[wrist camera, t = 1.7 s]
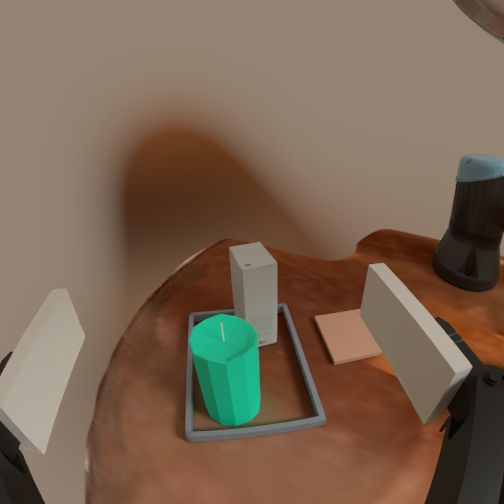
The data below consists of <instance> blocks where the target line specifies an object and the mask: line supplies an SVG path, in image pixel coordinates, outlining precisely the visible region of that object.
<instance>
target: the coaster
mask: <svg viewBox="0 0 504 504" xmlns="http://www.w3.org/2000/svg"><path fill="white" fill-rule="evenodd" d="M359 314H360V309H356V310H351V311H345V312H338V313H332V314H326V315H319V316H315V318H314V320H315V322H316V324H317V327H318V329H319V331H320V333H321V336H322V338H323V340H324V343H325V345H326V347H327V350H328V352H329V354H330V357H331V359H332V361H333V364H334V365H336V364H341V363H346V362H351V361H356V360H360V359H364V358H369V357H373V356H377V355H381V354H383V352H382V351H381V349H380V347H379V346H378V344H377V343H376V341H375V339H374V338H373V336H372V334H371V333H370V331H369V329H368V328H367V326H366V325H365V323H364V321H363V320H362V318H361V317H360V315H359Z"/></svg>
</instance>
